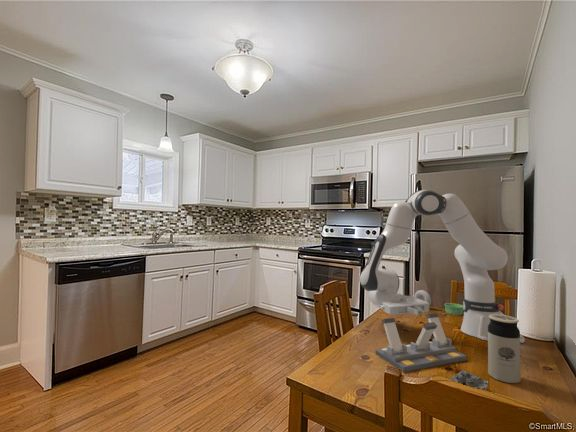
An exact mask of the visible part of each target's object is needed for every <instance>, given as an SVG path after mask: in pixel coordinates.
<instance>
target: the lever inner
mask: <svg viewBox="0 0 576 432" xmlns="http://www.w3.org/2000/svg"><path fill="white" fill-rule="evenodd" d="M425 316H426V319H427V320H428V323H431V322H434V323H435V324H436V325H437V327H436V329H435V330H434V332H433V334H432V336H433V339H436V340H438V341H440V345H444V344H447V343H448V342H447V339H446V334H445V332H444V329H443V325H442V324H441V321H440V318H439V314H438V312H435V313H427V314H425Z"/></svg>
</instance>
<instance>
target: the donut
mask: <svg viewBox="0 0 576 432" xmlns="http://www.w3.org/2000/svg"><path fill="white" fill-rule="evenodd" d="M413 296H414V298H417V299H420V300H422V299H421V297H423V300H424V301H426V302H428V303H429V307H430V306H431V304H432V297H431V295H430V293H429V292H427V291H426V290H423V289H418V290H417V291H416V292H415V293H414V295H413Z"/></svg>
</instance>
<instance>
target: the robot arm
mask: <svg viewBox="0 0 576 432" xmlns="http://www.w3.org/2000/svg"><path fill="white" fill-rule="evenodd" d="M434 215H437V216H438V217H440V219H441V221H442V223H443V224H444V226H445V228H446V230H447V231H448V234H450V237H451V238H452V239H453V240H454V241H455V242H457V243H458V245H457V246H455V249H454V257H455V259H456V260H457V262H458V264H459V267H460V269H461V274H462V276H463V277H462V278H463V282H464V286H463V287H464V288H463V289H464V292H463V293H464V298H463V299H462V300H463V301H462V306H463V318H462V324H461V327H460V328H459V329H460V331H461V332H462V333H463V334H465V335H468V336H471V337H475V338H477V339H480V340H483V341H487V342H488V325H489V323H490V318H489V315H492V314H499V315H505V314H504V313H503V312H502V311H504V310H505V306H504V305H503V304H501V303H499V302H496V301H495V298H496V297H495V292H496V291H495V283H494V280H493V279H492V278H491V277H490V275H489V273H488V271H498V270H500V269H503V268H504V267H505V266H506V265H507V263H508V259H509V258H508V257H509V256H508V253H507V251H506V250H505V249H504V248H503V247H501V246H499V245H497V243H495V242H494V241H493V240H492V239H491V238H490V237H489V236H488V235H487V234H486V233H485V232H484V231H483V230H482V229H481V228H480V226H479V225H478V223H477V222H476V221H475V219H474V217H473V216H472V214H471V212H470V211H469V208H468V207H467V206H466V204H464V202H463V201H462V200H461V198H459V196H458V195H456V194H455V193H445V194H443V195H441V194H439V193H437V192H436V191H433V190H428V189H422V190H421V189H420V190H418V191H414V192H413V193H411V194H410V196H409V197H408V198H407V199H406V200H405V201H398V202H395V203H394V204H393V205H392V206H391V209H390V211H389V213H388V216H387V218H386V224H385V227H384V229H383V231H382V232H381V234H378V236H377V237H376V238H375V240H374V242H373V245H372V246H371V249H370V253H369V255H368V258H367V260H366V263H365V264H364V266H363V269H362V271H361V272H360V275H359V284H360V285H361V287H362V288H363V289H364V290H365V291H367V292H368V299H369V301H370V303H372V305H374V306H375V307H377V308H380V309H381V310H382V311H383V312H384V313H386V314H388V315H391V316H399V315H409V314H413V315H416V316H419V315H424V313H428V312H430V306H429V303H428V302H426V301H425V300H424V299H421V298H420V299H421V300H420V299H417V298H414V295H409V294H402V293H398V292H399V288H400V278H399V276H398V274H397V272H396V271H395V270H391V269H390V270H389V269H379V267H380V264H381V261H382V259H383V257H384V254H386V252H387V251H389V250H391V249H393V248H396V247H400V246H402V245H404V244H405V243H406V242H408V240H409V239H410V236H411V233H412V228H413V223H414V220H415V219H416V217H417V216H434ZM525 340H526V339H525V337H524V336H523V335H522V334H521V333H520V344H521V343H522V344H524V343H525V342H526V341H525Z"/></svg>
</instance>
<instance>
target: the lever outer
mask: <svg viewBox="0 0 576 432" xmlns="http://www.w3.org/2000/svg"><path fill="white" fill-rule="evenodd" d="M381 322H382V324H383V327H384V330H385V333H386V337H387V341H388V346H390V347H392V348H394V352H400V351H403V348H402V344H403V343H402V342H401V338H400V335H399V331H398V329H397V325H396V320H395V318H394V317H389V318H383V319H381Z"/></svg>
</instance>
